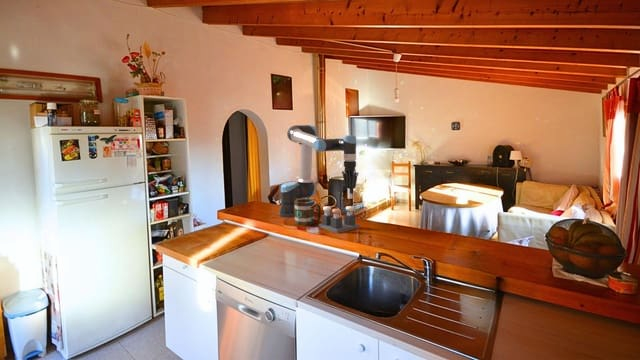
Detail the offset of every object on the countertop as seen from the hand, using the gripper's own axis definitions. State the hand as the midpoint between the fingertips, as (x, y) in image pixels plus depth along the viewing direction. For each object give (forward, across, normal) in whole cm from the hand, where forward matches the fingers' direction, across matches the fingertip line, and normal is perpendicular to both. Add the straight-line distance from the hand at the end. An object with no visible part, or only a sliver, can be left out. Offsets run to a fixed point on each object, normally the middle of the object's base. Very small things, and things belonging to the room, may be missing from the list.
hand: (350, 198), depth 215 cm
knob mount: (+18, -5, -6) cm, 20 cm away
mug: (+19, -24, -15) cm, 34 cm away
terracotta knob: (+14, 0, -11) cm, 17 cm away
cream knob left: (+14, 0, 0) cm, 14 cm away
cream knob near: (+13, -9, -11) cm, 20 cm away
